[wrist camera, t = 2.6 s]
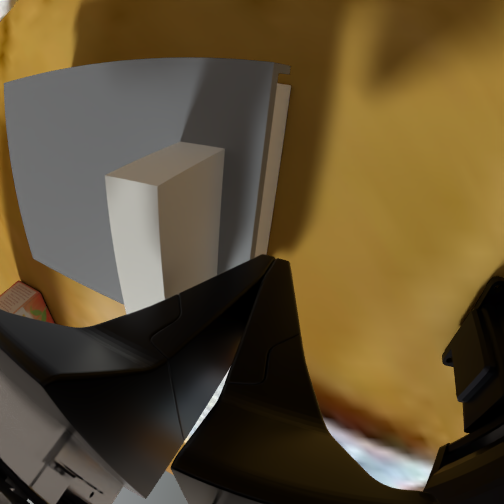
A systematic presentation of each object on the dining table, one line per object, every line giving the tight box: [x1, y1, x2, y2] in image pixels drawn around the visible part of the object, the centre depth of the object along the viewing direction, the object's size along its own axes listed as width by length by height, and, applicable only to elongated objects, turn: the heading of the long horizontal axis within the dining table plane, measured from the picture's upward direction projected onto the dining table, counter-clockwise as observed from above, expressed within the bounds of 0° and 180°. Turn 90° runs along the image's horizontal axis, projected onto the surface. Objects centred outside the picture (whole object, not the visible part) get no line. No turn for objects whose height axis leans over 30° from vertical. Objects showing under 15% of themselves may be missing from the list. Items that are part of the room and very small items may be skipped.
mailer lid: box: [4, 58, 291, 314], centre depth 12 cm, size 15×12×6 cm
